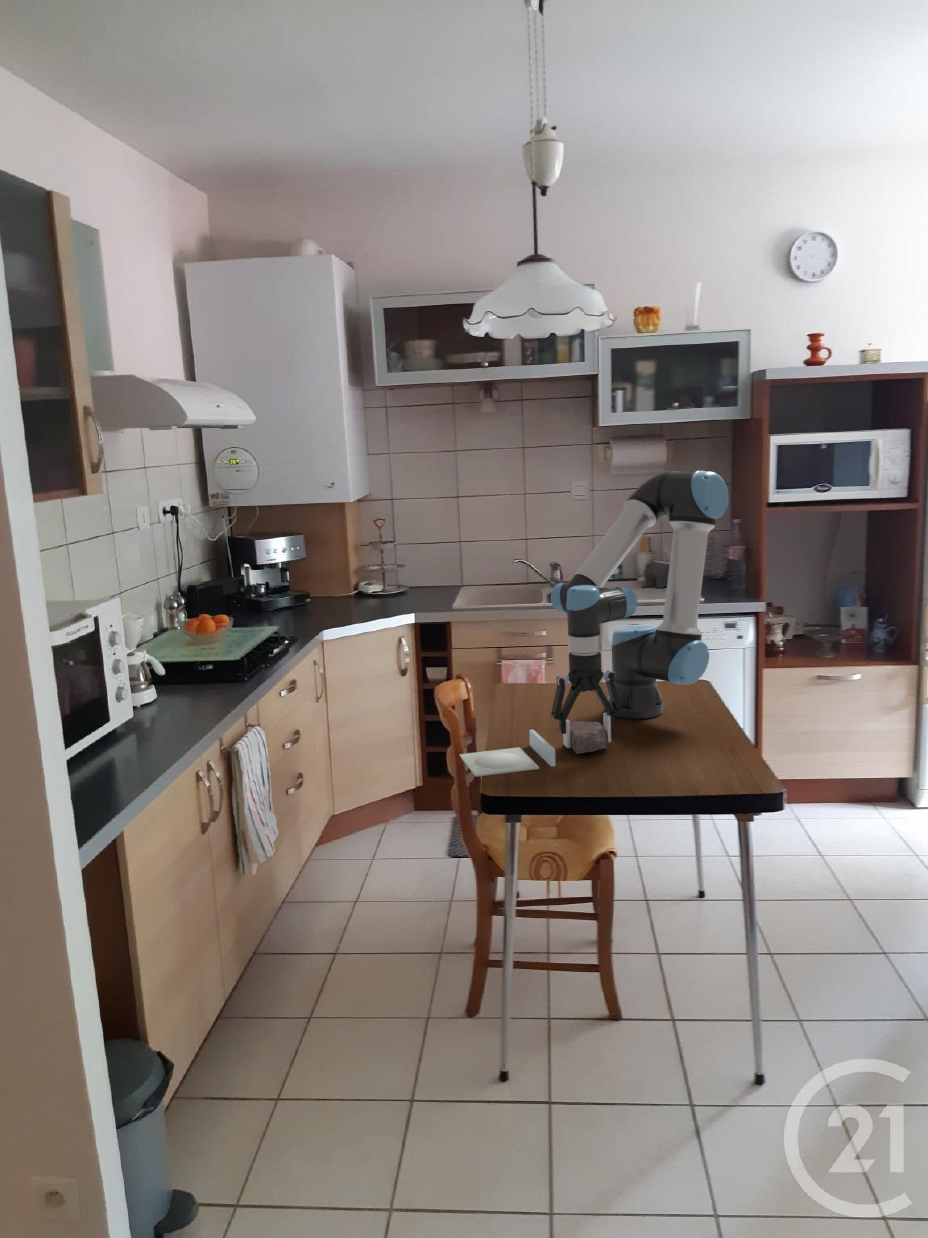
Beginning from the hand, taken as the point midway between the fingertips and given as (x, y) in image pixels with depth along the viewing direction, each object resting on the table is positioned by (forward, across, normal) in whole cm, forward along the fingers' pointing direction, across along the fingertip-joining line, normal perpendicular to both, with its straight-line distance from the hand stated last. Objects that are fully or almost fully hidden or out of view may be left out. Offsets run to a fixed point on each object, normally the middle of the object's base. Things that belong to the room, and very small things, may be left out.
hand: (587, 743), depth 220 cm
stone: (+1, 0, 0) cm, 1 cm away
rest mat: (+1, +22, +1) cm, 23 cm away
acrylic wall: (+1, +12, 0) cm, 12 cm away
